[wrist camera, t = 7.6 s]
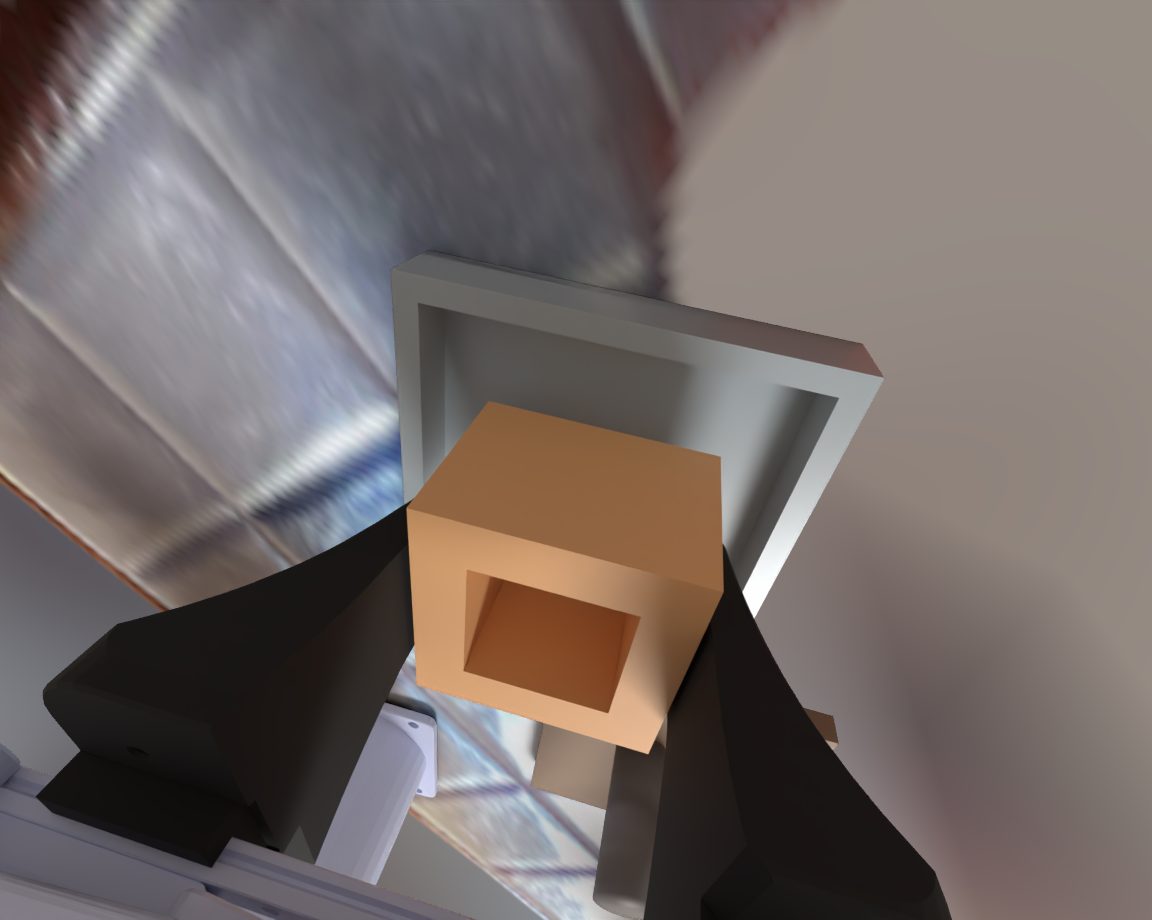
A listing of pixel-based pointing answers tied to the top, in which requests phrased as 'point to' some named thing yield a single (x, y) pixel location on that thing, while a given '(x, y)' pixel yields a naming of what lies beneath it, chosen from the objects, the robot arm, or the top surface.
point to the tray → (632, 387)
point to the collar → (565, 572)
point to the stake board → (597, 758)
